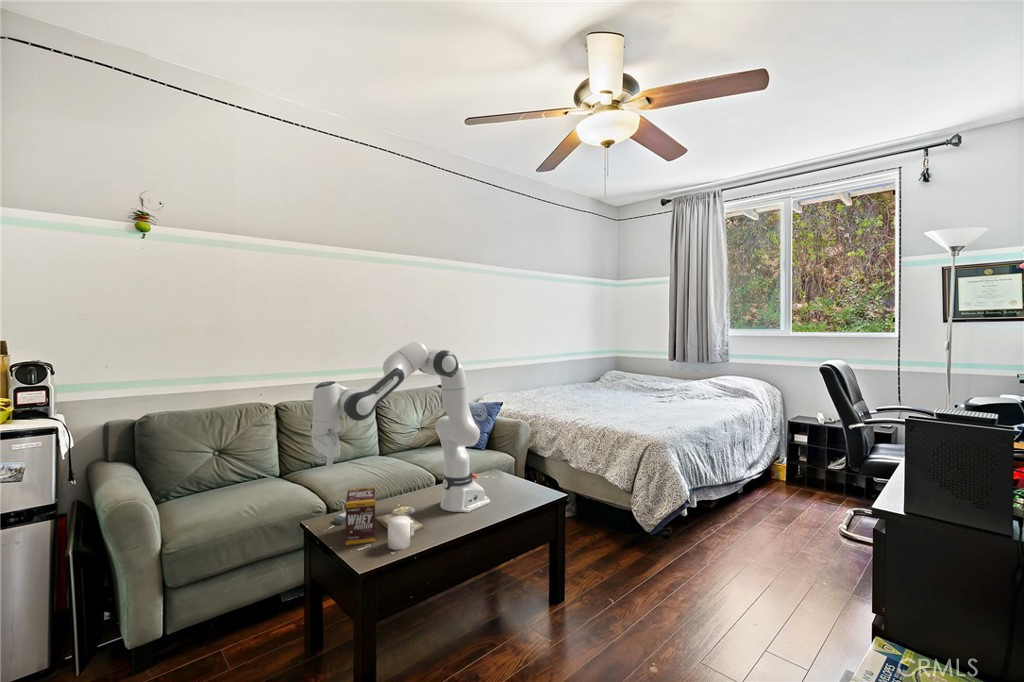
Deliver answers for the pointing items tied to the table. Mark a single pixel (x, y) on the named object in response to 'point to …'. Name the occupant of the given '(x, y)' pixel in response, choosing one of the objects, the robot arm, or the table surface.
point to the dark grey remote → (340, 518)
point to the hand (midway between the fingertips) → (326, 464)
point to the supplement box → (360, 516)
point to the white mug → (400, 532)
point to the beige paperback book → (385, 518)
